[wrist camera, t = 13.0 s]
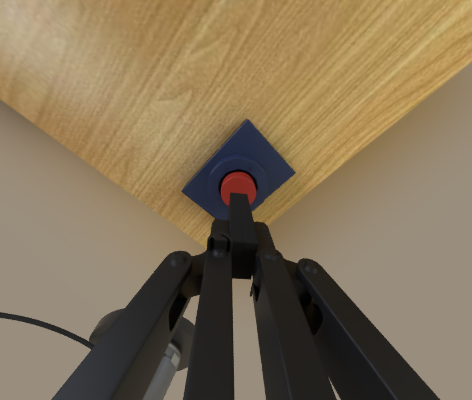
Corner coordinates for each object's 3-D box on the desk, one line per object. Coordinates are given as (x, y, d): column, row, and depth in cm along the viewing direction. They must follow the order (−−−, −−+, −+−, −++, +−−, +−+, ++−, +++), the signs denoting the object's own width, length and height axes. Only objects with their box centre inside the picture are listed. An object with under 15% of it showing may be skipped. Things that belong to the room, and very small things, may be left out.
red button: (237, 207, 20) (238, 215, 19) (214, 187, 19) (213, 193, 18) (261, 186, 19) (263, 193, 18) (238, 164, 18) (238, 168, 16)
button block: (229, 220, 25) (229, 238, 22) (185, 184, 23) (176, 198, 19) (290, 167, 22) (301, 178, 18) (246, 118, 19) (249, 119, 16)
